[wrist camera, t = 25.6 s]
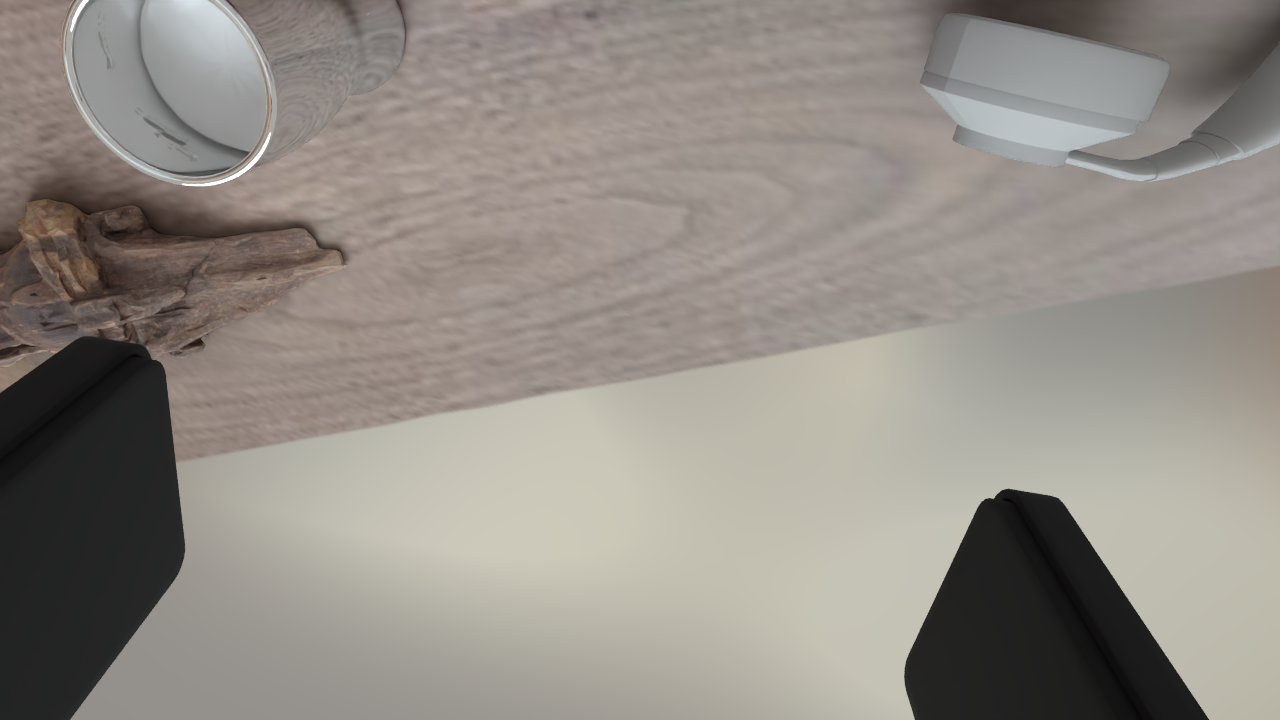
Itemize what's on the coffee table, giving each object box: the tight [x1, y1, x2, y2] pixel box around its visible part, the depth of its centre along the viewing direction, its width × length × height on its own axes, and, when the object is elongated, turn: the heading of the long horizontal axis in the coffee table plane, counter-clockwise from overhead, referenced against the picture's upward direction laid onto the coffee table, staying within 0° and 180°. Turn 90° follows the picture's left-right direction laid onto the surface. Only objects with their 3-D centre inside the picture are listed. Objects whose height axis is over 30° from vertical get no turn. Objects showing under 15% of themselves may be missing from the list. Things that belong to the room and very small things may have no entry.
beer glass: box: [60, 0, 405, 187], centre depth 32 cm, size 7×7×15 cm
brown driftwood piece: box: [0, 199, 348, 367], centre depth 43 cm, size 10×30×4 cm, turn 99°
